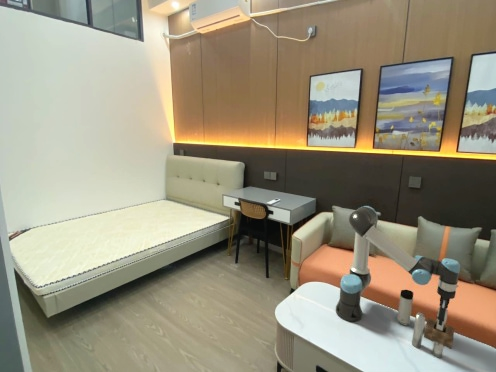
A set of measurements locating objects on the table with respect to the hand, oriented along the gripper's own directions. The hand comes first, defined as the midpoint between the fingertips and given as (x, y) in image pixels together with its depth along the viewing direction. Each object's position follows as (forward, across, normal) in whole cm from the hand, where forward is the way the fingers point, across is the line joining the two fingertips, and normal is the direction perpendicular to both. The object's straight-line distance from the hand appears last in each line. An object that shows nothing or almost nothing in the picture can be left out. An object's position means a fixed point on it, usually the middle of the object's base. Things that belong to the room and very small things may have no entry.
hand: (439, 326), depth 142 cm
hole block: (+7, 0, 0) cm, 7 cm away
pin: (+3, 0, 0) cm, 3 cm away
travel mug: (+7, +1, +17) cm, 18 cm away
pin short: (+7, -14, -1) cm, 16 cm away
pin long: (+7, -14, +8) cm, 17 cm away
